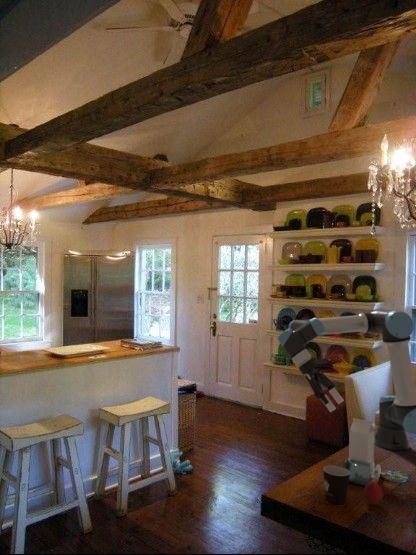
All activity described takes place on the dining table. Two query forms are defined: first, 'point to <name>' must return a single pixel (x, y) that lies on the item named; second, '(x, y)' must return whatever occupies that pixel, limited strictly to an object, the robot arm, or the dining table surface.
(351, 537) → the dining table surface
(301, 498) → the dining table surface
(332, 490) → the coffee mug
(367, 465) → the motor
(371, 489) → the onion
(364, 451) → the milk carton
